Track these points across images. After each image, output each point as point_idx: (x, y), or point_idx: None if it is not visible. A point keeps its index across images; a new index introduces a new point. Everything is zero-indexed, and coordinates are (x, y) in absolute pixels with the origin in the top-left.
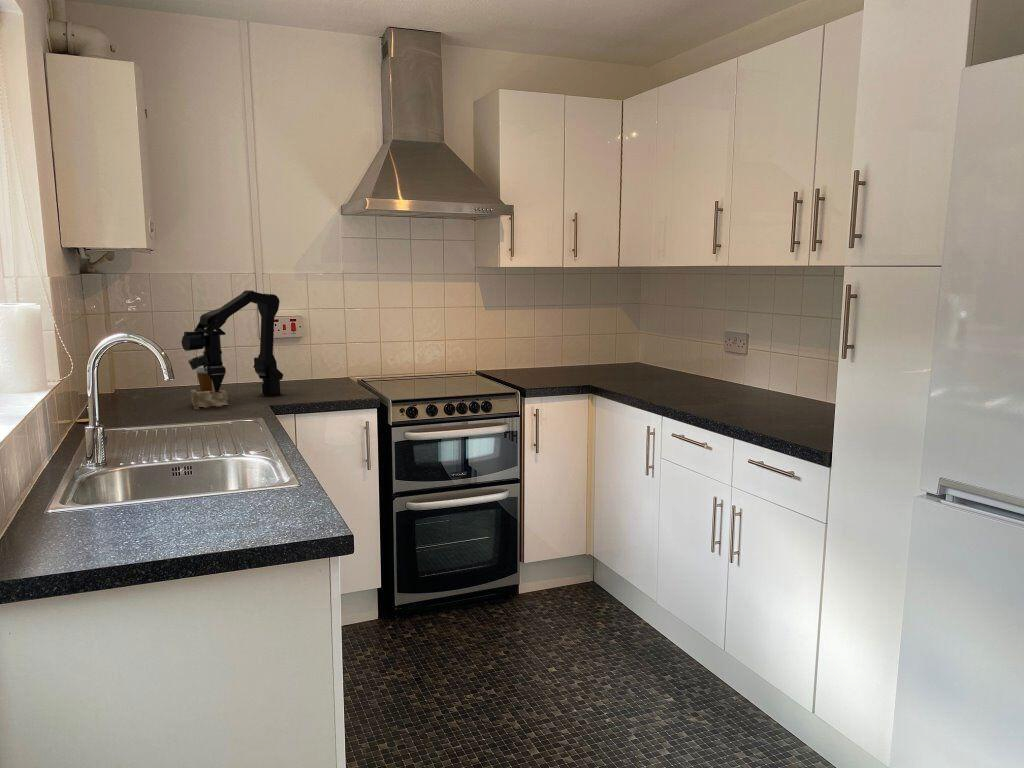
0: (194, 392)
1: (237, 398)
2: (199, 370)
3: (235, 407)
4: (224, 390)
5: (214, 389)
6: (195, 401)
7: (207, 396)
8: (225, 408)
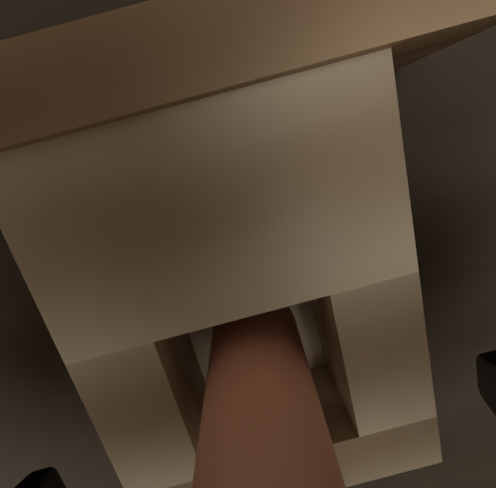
0: (192, 46)
1: (487, 429)
2: None
3: (76, 482)
4: (390, 471)
5: (198, 439)
6: None
7: (55, 305)
8: (36, 417)
